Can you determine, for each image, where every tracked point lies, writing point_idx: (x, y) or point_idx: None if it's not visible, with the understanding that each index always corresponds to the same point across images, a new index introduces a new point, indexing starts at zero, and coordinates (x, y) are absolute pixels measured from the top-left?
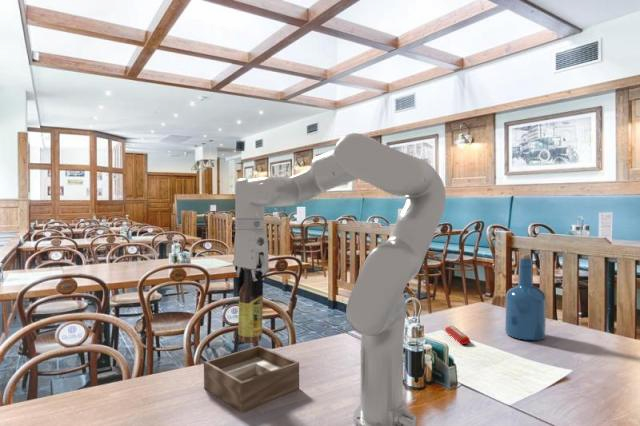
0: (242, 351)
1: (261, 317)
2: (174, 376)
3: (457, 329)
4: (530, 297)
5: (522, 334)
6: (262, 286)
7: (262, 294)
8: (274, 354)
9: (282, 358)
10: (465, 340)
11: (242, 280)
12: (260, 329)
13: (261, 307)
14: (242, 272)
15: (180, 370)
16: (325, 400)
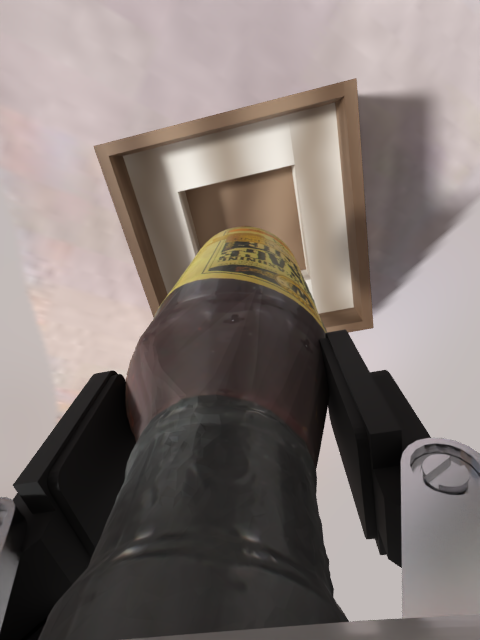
0: (133, 233)
1: (293, 265)
2: (86, 366)
3: None
4: None
5: None
6: (370, 375)
7: (345, 330)
8: (212, 129)
9: (264, 116)
10: None
11: (105, 513)
12: (293, 256)
13: (304, 286)
14: (12, 604)
15: (52, 347)
16: (455, 57)
